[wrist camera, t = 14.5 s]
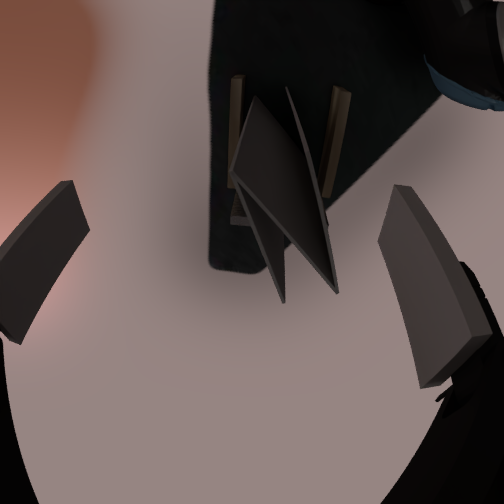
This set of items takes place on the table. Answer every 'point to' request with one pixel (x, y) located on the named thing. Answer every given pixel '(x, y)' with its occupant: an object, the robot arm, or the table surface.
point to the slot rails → (332, 136)
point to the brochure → (281, 195)
